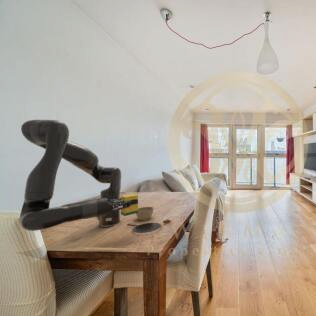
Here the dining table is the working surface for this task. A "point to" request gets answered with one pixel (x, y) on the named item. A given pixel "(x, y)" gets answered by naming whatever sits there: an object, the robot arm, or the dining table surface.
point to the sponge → (133, 208)
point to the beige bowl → (144, 213)
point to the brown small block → (167, 221)
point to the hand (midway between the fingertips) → (135, 200)
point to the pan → (145, 227)
